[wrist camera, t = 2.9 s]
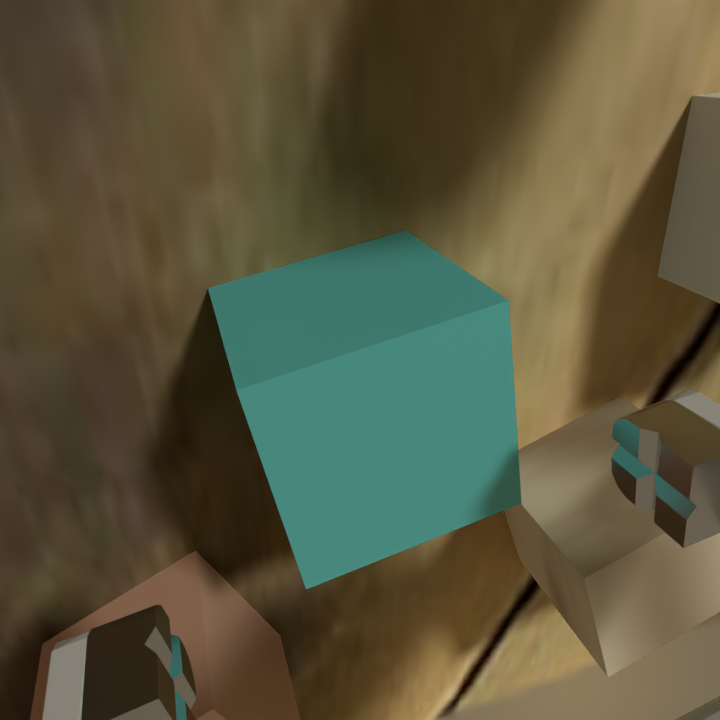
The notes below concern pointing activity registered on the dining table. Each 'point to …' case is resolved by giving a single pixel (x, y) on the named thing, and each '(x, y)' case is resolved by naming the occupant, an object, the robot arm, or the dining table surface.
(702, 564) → the maple block
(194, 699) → the robot arm
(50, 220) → the dining table surface
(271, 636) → the terracotta block
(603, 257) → the dining table surface
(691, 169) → the grey block
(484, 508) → the teal block
